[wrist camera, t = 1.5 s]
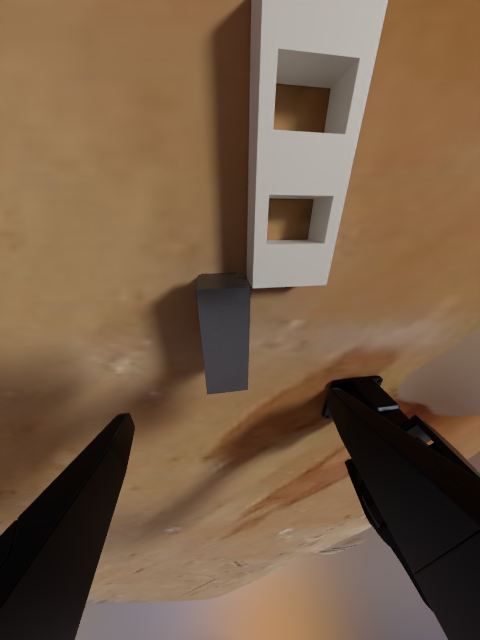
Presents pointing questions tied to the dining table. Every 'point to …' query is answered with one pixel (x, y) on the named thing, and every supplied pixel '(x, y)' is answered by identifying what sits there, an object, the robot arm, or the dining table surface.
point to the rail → (305, 147)
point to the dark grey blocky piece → (224, 330)
